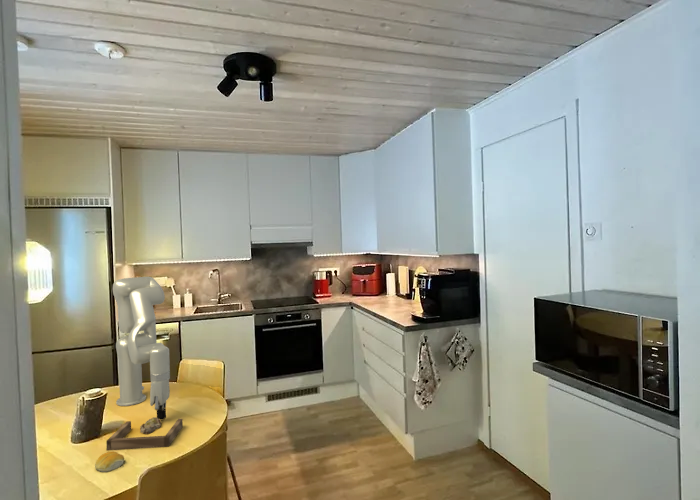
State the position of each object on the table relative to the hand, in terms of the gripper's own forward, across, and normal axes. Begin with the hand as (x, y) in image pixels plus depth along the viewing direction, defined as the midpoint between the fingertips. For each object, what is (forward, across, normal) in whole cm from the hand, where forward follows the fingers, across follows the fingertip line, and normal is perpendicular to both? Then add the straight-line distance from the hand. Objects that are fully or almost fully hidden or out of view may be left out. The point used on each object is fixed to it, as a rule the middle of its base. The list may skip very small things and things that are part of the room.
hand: (161, 418), depth 171 cm
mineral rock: (+1, +7, -2) cm, 7 cm away
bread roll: (+1, +33, -5) cm, 33 cm away
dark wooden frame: (+1, +15, 0) cm, 15 cm away
